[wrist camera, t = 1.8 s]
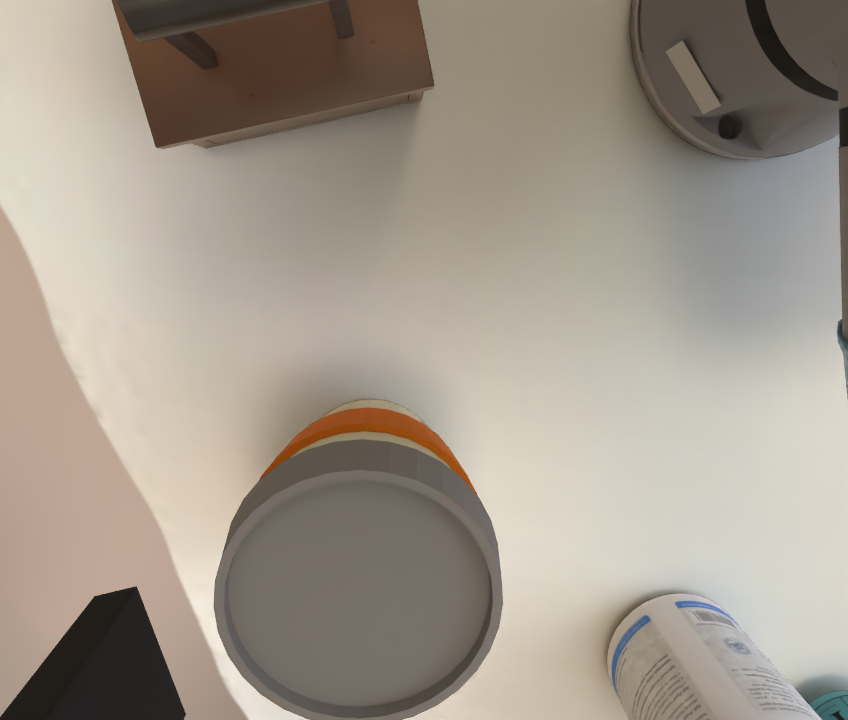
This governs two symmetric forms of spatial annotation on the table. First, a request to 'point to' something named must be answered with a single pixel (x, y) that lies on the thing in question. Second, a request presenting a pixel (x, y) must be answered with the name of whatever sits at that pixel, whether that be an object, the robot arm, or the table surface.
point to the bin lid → (267, 60)
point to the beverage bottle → (832, 705)
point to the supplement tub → (696, 666)
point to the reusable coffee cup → (360, 571)
